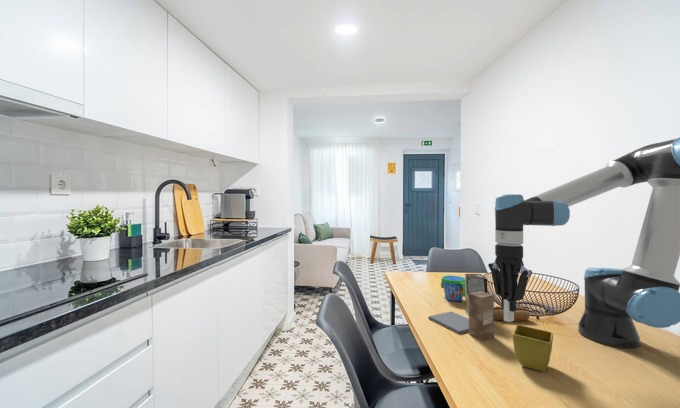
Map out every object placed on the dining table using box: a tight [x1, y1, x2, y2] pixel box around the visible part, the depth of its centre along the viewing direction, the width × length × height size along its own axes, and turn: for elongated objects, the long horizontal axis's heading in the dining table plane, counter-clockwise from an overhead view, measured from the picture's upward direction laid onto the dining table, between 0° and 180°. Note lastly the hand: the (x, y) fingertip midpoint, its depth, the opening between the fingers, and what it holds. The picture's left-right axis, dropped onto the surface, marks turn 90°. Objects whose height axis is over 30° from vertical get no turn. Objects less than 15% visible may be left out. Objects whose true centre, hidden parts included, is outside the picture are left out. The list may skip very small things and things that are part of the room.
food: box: [494, 306, 531, 322], centre depth 113 cm, size 14×6×5 cm, turn 83°
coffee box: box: [464, 273, 488, 317], centre depth 116 cm, size 9×6×16 cm
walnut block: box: [468, 291, 495, 341], centre depth 99 cm, size 5×6×14 cm
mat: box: [428, 310, 469, 335], centre depth 109 cm, size 15×12×1 cm
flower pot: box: [512, 324, 554, 372], centre depth 81 cm, size 9×9×9 cm
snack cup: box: [440, 275, 465, 302], centre depth 137 cm, size 16×10×10 cm
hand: (508, 320), depth 90 cm, fingers closed
